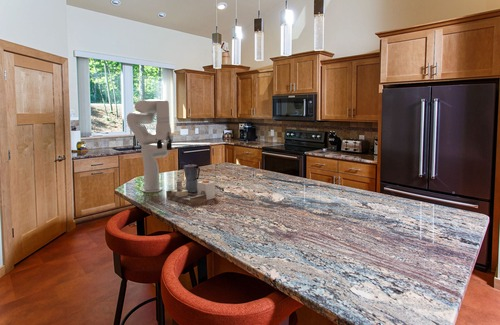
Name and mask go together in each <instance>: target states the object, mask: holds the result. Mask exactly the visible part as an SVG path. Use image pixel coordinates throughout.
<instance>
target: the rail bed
mask: <svg viewBox="0 0 500 325" xmlns="http://www.w3.org/2000/svg"><path fill="white" fill-rule="evenodd" d="M173 190H177V188H175V189H170V190H166V192H165V193H166V194H165V196H166V199H167V200H171V201H175V202H177V203H181V204H184V205H188V206H191V207H193V206H196V205H200V204H204V203H207V202H208V200H207V195H206V194H202V195H199V196H198V194H194V193H191V192H188V195H187V196H183V197H179V196H175V195H172V192H171V191H173Z"/></svg>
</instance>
